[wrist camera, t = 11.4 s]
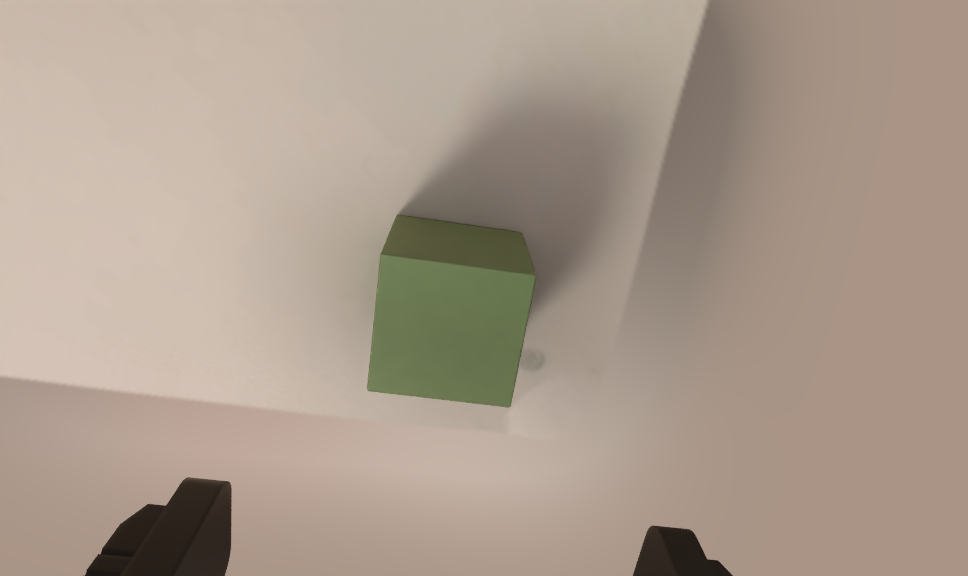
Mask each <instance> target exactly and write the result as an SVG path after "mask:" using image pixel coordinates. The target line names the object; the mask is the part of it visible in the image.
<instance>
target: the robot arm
mask: <svg viewBox="0 0 968 576" xmlns="http://www.w3.org/2000/svg"><path fill="white" fill-rule="evenodd" d="M230 548H231V484H230V482H228V481H218V480H208V479H198V478H189V477H188V478H186V479H184V480H183V481H182V483H181V484H180V485H179V487H178V489H177V490H176V492H175V493H174V495H173V496H172V498H171V499H170V501H169V502H168V504H167V505H166V506H163V505H153V504H147V505H146V506H145V507H143V508H142V509H141V510H139V511H138V512H136V513H135V514H134V515H132V516H131V517H130V518H128V519H127V520H125V521H124V522H123V523H122V524H120V525H119V527H118V528H117V529H116V531H115V532H114V534H113V535H112V536H111V538H110V539H109V540H108V542H107V543H106V545H105V546H104V547H103V549H102V552H101V554H98V556H97V557H96V558H95V560H94V561H93V562H92V564H91V565H90V566H89V568H88V569H87V572H86V575H85V576H225V573H226V569H227V566H228V561H229V557H230V550H231V549H230ZM633 576H732V575H731V574H730V573H729V571H728V570H727V569H726V568H725V567H724V566H723V565H722V564H721V563H720V562H719V561H717V560H707V558H706V556H705V554H704V552H703V550H702V548H701V546H700V544H699V542H698V540H697V538H696V536H695V534H694V533H693V532H692V531H691V530H689V529H681V528H670V527H660V526H651V527H650V528H649V529H648V531H647V534H646V536H645V539H644V543H643V546H642V549H641V552H640V555H639V558H638V561H637V564H636V568H635V571H634V574H633Z"/></svg>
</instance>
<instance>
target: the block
mask: <svg viewBox="0 0 968 576" xmlns="http://www.w3.org/2000/svg"><path fill="white" fill-rule="evenodd" d="M535 281H536V273H535V270H534V267H533V264H532V261H531V258H530V255H529V252H528V249H527V246H526V243H525V241H524V238H523V235H522V233H520V232H513V231H506V230H499V229H492V228H485V227H478V226H472V225H465V224H458V223H451V222H444V221H437V220H430V219H423V218H416V217H409V216H402V215H397V216H396V218H395V221H394V223H393V226H392V228H391V231H390V233H389V235H388V238H387V240H386V243H385V245H384V248H383V250H382V252H381V255H380V265H379V275H378V285H377V295H376V305H375V315H374V325H373V335H372V345H371V355H370V365H369V375H368V385H367V390H368V391H373V392H382V393H390V394H399V395H407V396H416V397H424V398H433V399H442V400H450V401H459V402H467V403H476V404H484V405H493V406H501V407H510V406H511V402H512V397H513V391H514V386H515V381H516V376H517V371H518V366H519V361H520V356H521V351H522V346H523V341H524V336H525V331H526V326H527V321H528V316H529V311H530V306H531V301H532V296H533V291H534V286H535Z"/></svg>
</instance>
